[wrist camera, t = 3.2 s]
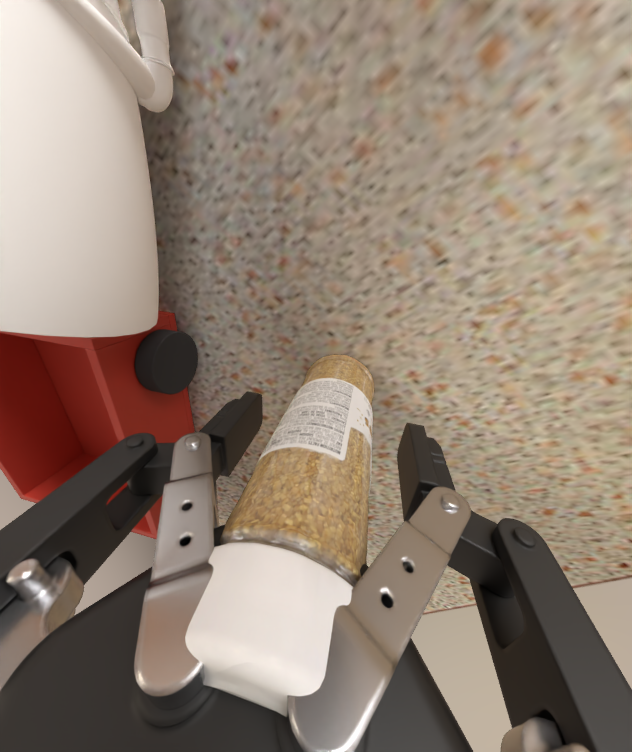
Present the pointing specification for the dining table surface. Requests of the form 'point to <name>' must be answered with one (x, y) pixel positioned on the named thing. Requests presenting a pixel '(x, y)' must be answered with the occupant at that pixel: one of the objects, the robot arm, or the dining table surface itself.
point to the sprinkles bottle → (291, 544)
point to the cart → (78, 408)
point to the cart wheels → (166, 361)
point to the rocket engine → (78, 166)
